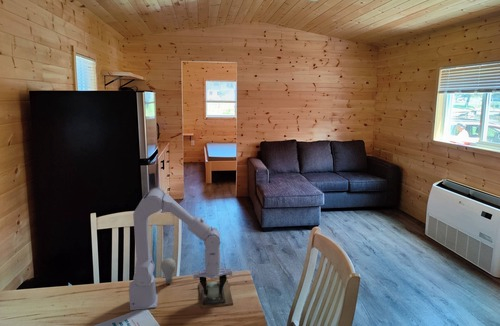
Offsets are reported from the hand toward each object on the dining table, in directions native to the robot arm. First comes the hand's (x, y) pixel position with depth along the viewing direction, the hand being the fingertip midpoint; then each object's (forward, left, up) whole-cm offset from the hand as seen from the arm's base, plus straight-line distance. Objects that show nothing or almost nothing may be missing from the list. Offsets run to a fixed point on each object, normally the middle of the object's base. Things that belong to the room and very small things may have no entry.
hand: (213, 293), depth 138 cm
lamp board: (+1, +3, -2) cm, 4 cm away
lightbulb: (-17, +14, -2) cm, 22 cm away
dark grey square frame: (0, 0, -2) cm, 2 cm away
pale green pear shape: (0, 0, -2) cm, 2 cm away
